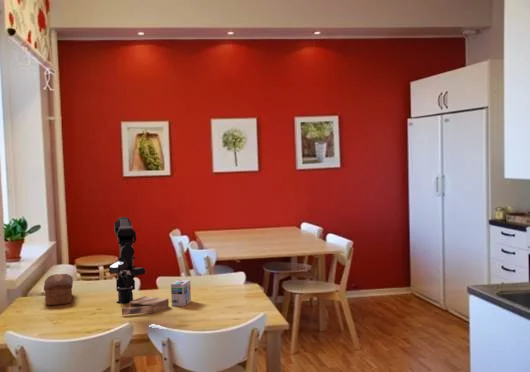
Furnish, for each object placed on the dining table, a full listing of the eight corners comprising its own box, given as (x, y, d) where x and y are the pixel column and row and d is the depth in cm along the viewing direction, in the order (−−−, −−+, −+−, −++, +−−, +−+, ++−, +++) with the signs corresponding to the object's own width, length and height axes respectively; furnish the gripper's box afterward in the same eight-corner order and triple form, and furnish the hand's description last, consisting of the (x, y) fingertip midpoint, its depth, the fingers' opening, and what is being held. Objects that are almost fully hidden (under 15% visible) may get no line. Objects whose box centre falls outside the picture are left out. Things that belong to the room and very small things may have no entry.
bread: (73, 292, 326) (72, 270, 325) (73, 305, 299) (72, 280, 298) (46, 295, 322) (45, 272, 321) (43, 307, 295) (42, 282, 294)
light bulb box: (184, 306, 291) (183, 284, 291) (171, 306, 293) (170, 284, 292) (191, 301, 302) (190, 279, 301) (178, 300, 303) (178, 279, 303)
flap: (121, 315, 276) (121, 308, 275) (121, 314, 276) (121, 308, 276) (153, 312, 279) (152, 306, 279) (152, 312, 280) (152, 305, 280)
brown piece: (129, 310, 286) (129, 301, 286) (145, 304, 297) (144, 296, 297) (153, 313, 280) (153, 304, 280) (168, 306, 291) (168, 298, 291)
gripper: (99, 255, 277) (100, 289, 277) (127, 259, 266) (128, 294, 267) (118, 252, 286) (119, 284, 287) (145, 255, 275) (146, 289, 276)
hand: (127, 288), depth 279 cm, fingers closed
